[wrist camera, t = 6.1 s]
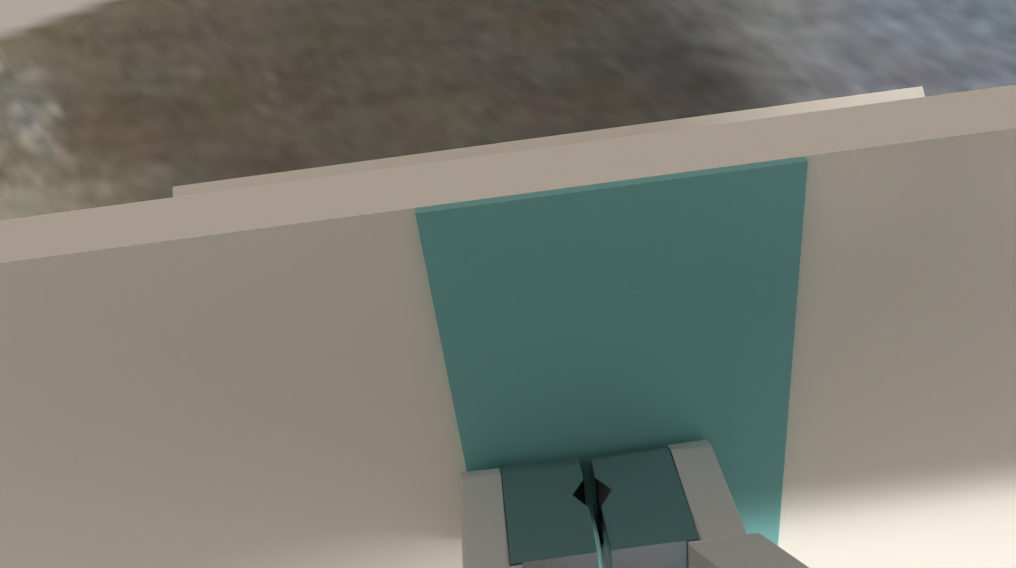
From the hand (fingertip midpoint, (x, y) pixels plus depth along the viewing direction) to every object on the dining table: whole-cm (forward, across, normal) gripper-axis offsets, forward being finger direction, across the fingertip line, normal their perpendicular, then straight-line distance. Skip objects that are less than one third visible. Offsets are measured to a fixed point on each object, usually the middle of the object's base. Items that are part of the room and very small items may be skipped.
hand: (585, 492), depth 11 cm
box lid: (+1, -1, +3) cm, 3 cm away
